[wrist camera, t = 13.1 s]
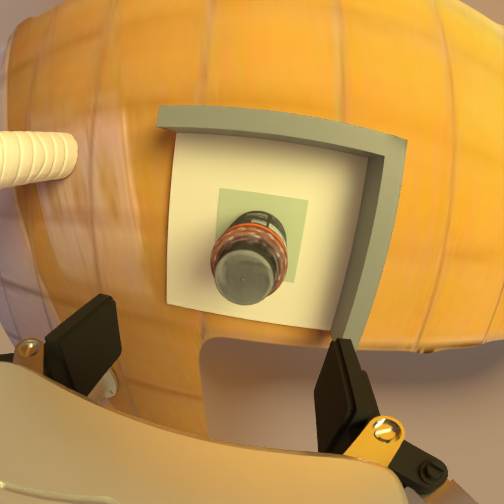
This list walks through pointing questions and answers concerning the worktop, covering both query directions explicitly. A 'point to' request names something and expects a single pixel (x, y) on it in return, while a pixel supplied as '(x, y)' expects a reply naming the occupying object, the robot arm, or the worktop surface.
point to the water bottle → (35, 157)
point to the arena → (284, 210)
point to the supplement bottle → (250, 258)
